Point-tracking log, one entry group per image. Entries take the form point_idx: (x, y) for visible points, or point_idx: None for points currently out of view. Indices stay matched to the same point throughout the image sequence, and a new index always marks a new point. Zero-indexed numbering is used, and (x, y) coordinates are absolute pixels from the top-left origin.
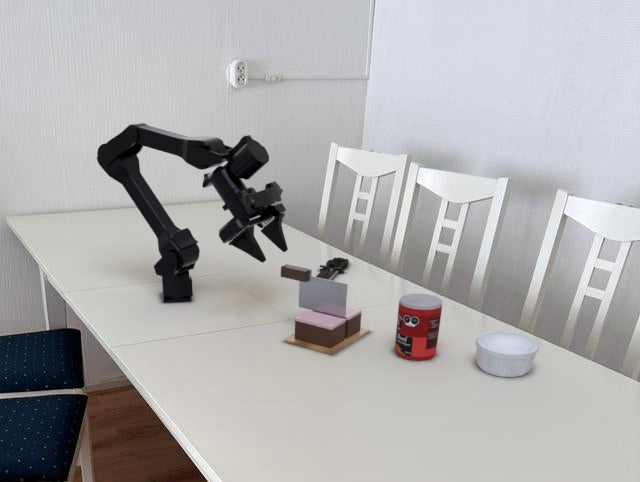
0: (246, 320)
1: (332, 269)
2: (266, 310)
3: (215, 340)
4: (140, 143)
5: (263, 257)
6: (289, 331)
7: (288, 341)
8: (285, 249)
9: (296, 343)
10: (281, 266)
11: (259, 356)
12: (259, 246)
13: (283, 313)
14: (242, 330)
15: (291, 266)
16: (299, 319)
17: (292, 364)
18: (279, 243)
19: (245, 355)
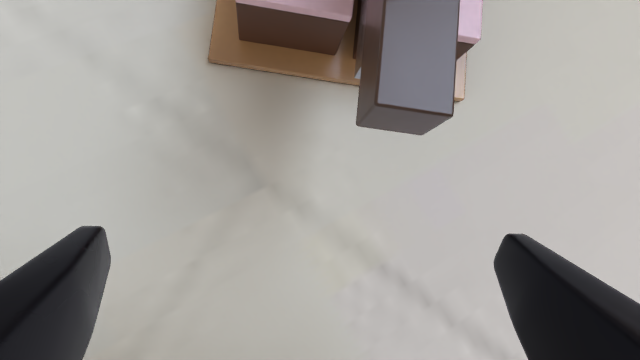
0: (353, 327)
1: None
2: (207, 319)
3: None
4: None
5: (547, 248)
6: (368, 129)
7: (464, 85)
8: (103, 243)
9: (466, 55)
10: (452, 112)
11: (592, 120)
12: (620, 316)
13: (206, 237)
14: (448, 282)
15: (410, 48)
16: (481, 20)
17: (585, 13)
18: (66, 336)
19: (609, 161)
